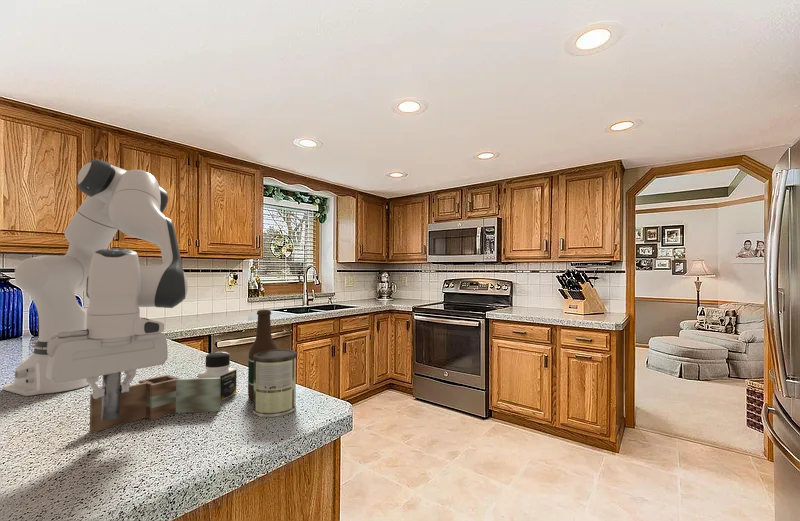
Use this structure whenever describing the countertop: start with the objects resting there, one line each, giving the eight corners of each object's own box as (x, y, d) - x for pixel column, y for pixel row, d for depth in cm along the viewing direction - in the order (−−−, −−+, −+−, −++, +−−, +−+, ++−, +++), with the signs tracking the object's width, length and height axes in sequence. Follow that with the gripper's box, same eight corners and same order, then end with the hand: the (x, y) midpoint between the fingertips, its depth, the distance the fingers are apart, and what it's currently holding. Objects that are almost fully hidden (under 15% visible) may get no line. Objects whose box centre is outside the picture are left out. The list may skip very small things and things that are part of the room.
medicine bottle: (220, 401, 104) (221, 356, 104) (196, 400, 105) (197, 355, 106) (236, 393, 111) (237, 351, 111) (214, 392, 112) (215, 349, 113)
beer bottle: (260, 405, 101) (261, 312, 102) (241, 399, 105) (242, 310, 106) (284, 396, 108) (284, 309, 109) (265, 392, 112) (266, 308, 113)
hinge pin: (97, 419, 79) (99, 359, 79) (111, 414, 82) (113, 356, 82) (109, 421, 78) (111, 360, 79) (123, 415, 81) (125, 357, 81)
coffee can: (245, 409, 98) (246, 353, 98) (283, 400, 105) (284, 347, 106) (264, 421, 91) (265, 359, 91) (303, 410, 98) (304, 353, 98)
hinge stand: (190, 399, 105) (191, 369, 106) (221, 410, 97) (222, 377, 98) (84, 428, 86) (85, 392, 86) (112, 445, 78) (113, 404, 78)
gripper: (53, 335, 70) (50, 413, 70) (172, 323, 87) (170, 385, 87) (42, 331, 74) (39, 405, 73) (158, 320, 91) (156, 381, 90)
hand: (111, 394), depth 80 cm, fingers closed on hinge pin, 3 cm apart
